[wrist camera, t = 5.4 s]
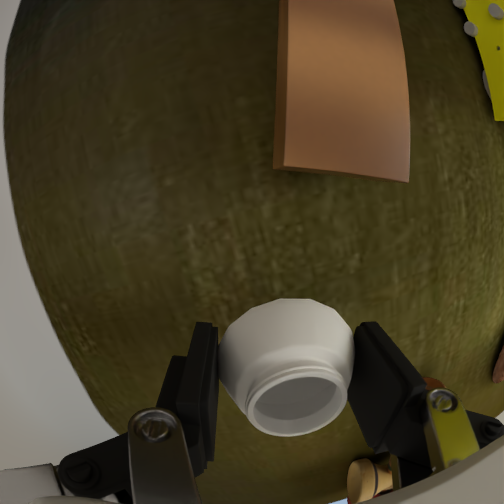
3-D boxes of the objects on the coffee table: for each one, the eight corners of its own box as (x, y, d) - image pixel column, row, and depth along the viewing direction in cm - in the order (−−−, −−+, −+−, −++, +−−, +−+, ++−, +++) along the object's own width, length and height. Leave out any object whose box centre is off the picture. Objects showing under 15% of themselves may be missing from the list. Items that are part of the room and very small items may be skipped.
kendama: (354, 383, 16) (325, 503, 18) (411, 433, 10) (349, 541, 12) (427, 353, 18) (383, 478, 20) (482, 382, 12) (411, 508, 14)
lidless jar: (254, 270, 9) (199, 376, 10) (261, 314, 6) (190, 432, 7) (370, 320, 10) (305, 407, 11) (406, 365, 7) (318, 457, 8)
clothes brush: (276, -47, 8) (285, -86, 4) (348, -32, 8) (371, -65, 4) (267, 170, 11) (283, 166, 8) (362, 180, 12) (409, 183, 8)
